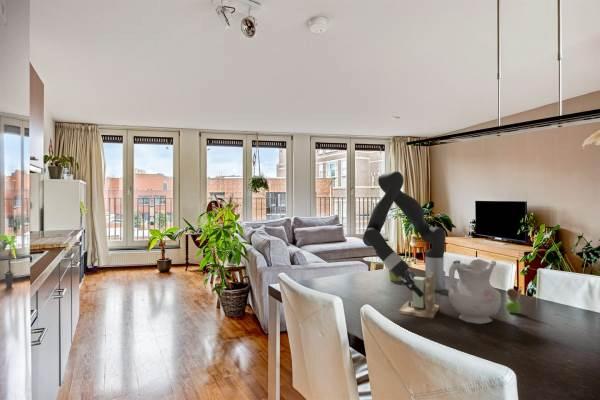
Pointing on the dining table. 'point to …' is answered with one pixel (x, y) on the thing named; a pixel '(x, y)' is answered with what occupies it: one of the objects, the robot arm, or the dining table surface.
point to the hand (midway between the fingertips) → (423, 294)
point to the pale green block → (421, 284)
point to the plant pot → (394, 277)
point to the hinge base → (430, 306)
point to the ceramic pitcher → (474, 291)
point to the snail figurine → (513, 300)
